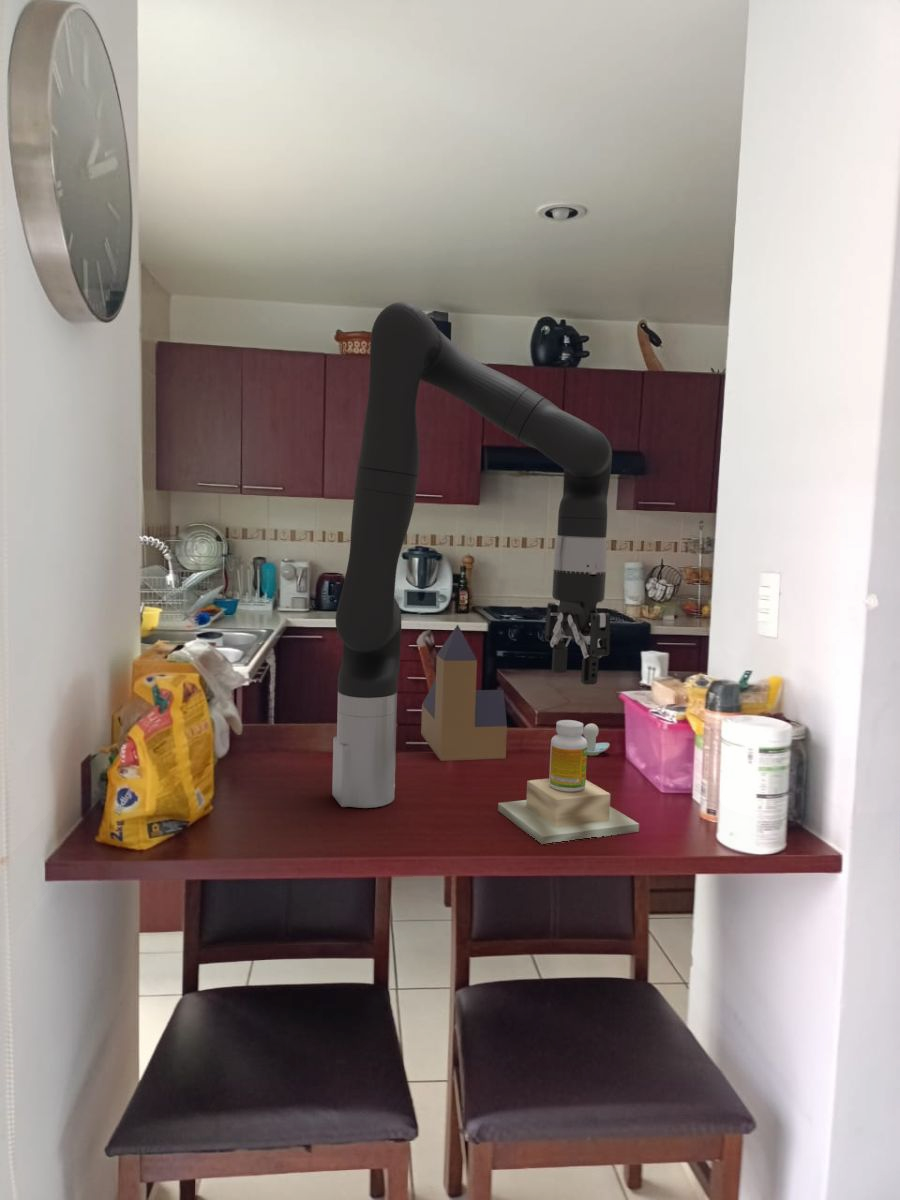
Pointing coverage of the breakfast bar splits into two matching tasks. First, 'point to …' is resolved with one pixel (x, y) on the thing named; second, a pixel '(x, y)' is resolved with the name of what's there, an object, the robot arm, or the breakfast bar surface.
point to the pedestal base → (568, 831)
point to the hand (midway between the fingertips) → (573, 678)
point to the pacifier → (593, 740)
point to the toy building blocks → (462, 708)
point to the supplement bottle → (568, 757)
